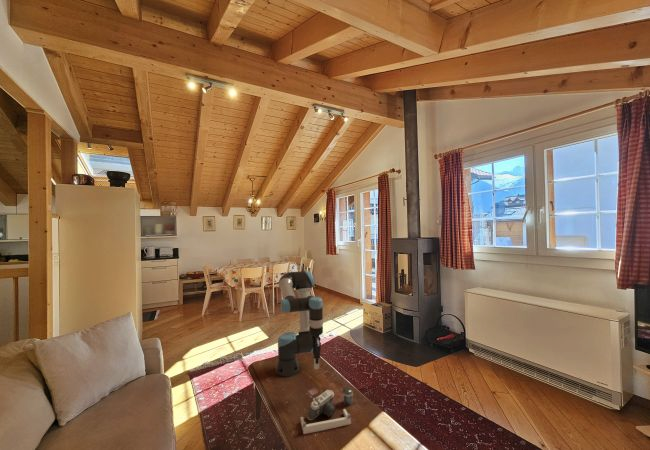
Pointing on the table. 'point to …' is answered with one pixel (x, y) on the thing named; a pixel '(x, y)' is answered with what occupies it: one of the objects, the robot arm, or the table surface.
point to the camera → (321, 405)
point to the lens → (347, 396)
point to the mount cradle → (326, 424)
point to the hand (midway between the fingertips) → (316, 368)
